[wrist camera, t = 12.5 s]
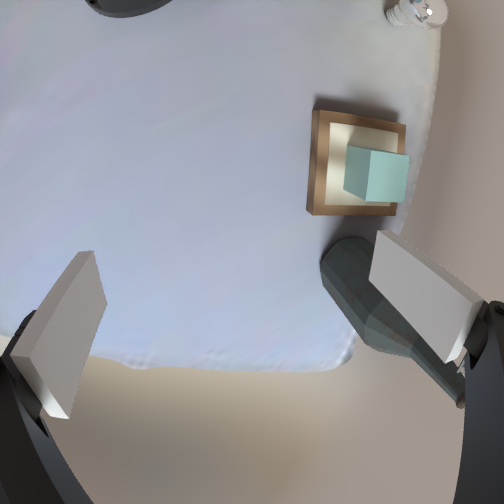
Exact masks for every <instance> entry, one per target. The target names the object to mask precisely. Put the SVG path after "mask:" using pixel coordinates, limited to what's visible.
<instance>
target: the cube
mask: <svg viewBox="0 0 504 504" xmlns="http://www.w3.org/2000/svg"><path fill="white" fill-rule="evenodd" d="M409 160H410V156H407V155H403V154H399V153H394V152H390V151H386V150H380V149H373V148H365V147H357V146H348V145H347V151H346V163H345V175H344V185H343V190H345V191H347V192H349V193H351V194H353V195H355V196H357V197H359V198H361V199H363V200H365V201H377V202H400V203H404V199H405V192H406V185H407V177H408V169H409Z"/></svg>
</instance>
